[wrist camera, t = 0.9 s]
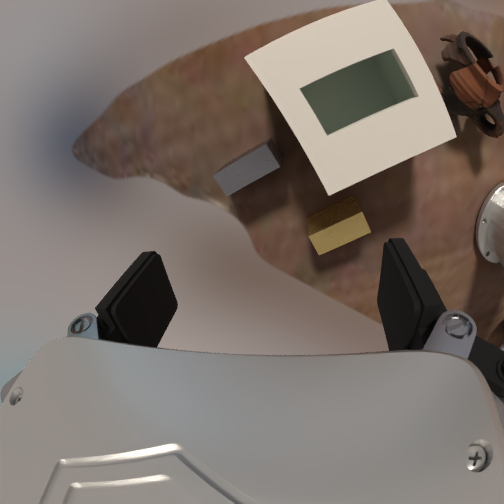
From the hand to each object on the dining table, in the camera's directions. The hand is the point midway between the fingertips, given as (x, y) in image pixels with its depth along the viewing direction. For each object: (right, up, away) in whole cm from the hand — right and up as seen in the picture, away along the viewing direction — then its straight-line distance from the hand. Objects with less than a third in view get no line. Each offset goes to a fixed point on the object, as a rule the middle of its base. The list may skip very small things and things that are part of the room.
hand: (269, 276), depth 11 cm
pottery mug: (+23, +20, +9) cm, 32 cm away
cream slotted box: (+8, +17, +13) cm, 23 cm away
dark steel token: (-1, +11, +18) cm, 21 cm away
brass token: (+9, +5, +20) cm, 23 cm away
